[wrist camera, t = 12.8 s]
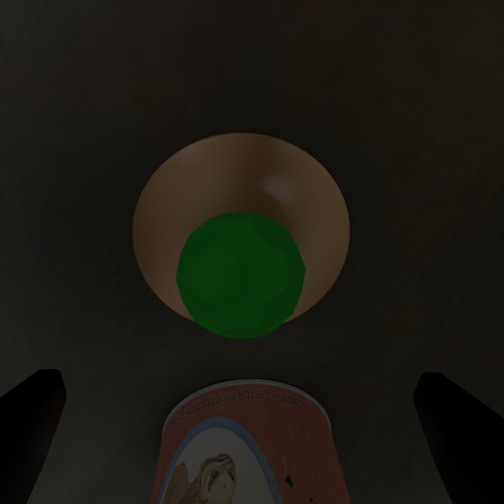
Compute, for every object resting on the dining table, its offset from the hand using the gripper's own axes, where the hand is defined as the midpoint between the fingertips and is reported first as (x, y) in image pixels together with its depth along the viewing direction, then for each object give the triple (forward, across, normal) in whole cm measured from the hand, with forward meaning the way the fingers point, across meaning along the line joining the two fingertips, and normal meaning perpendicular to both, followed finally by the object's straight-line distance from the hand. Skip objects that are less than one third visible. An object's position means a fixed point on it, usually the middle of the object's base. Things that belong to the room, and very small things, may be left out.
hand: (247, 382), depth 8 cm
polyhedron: (+8, 0, 0) cm, 8 cm away
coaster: (+8, 0, 0) cm, 8 cm away
